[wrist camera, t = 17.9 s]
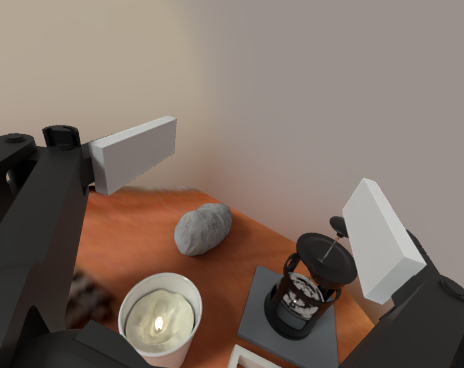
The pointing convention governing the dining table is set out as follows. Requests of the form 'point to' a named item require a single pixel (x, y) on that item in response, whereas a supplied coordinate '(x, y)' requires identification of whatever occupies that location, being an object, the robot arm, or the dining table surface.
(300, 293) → the french press
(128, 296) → the candle holder
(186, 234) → the seashell
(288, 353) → the slate mat
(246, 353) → the holder frame
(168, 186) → the dining table surface
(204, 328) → the dining table surface
